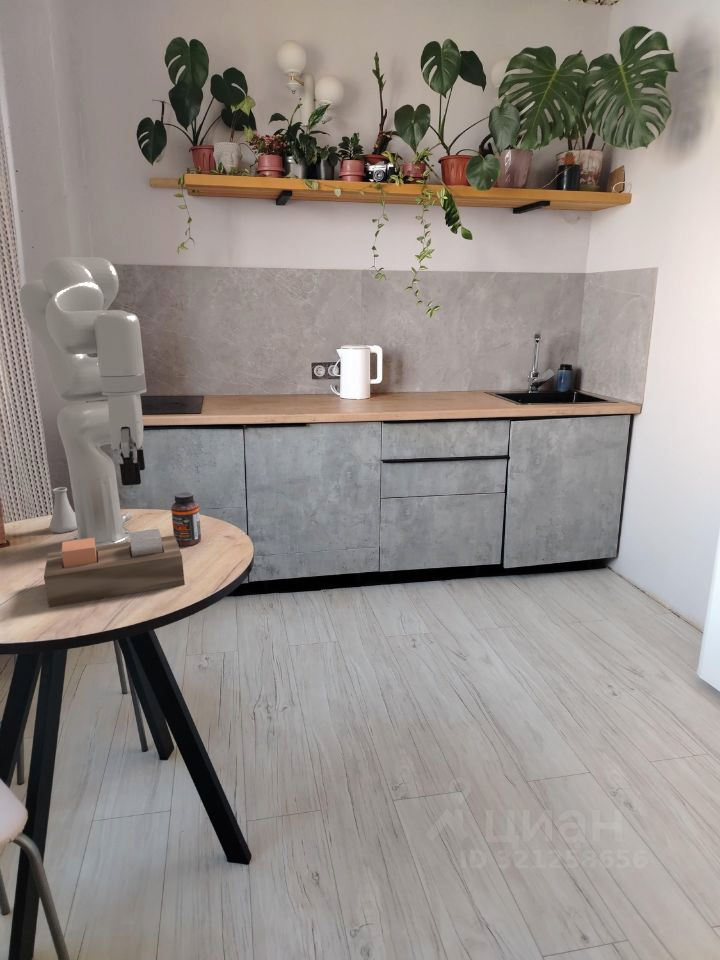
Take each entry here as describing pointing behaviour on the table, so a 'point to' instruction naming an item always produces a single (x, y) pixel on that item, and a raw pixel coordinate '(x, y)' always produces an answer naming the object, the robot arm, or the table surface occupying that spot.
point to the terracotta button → (79, 552)
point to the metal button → (145, 542)
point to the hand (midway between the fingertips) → (134, 477)
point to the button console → (113, 573)
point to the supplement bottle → (186, 519)
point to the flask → (62, 513)
